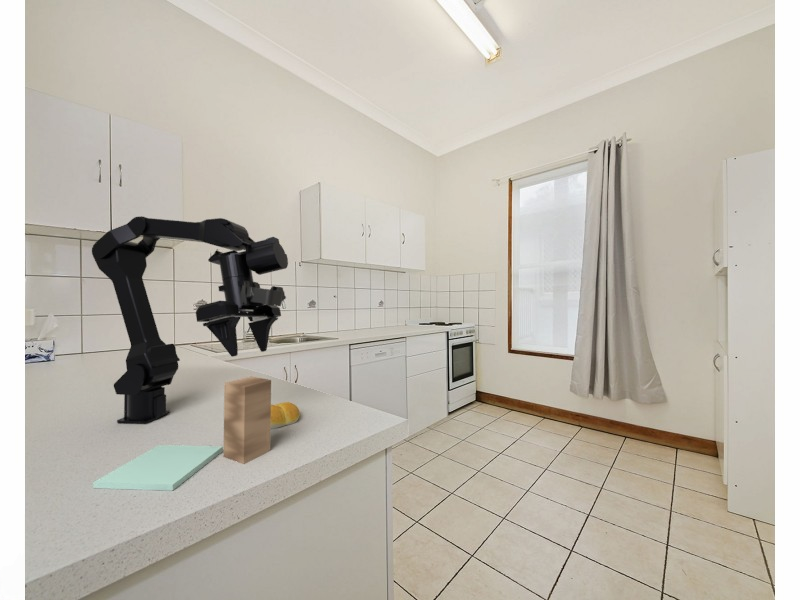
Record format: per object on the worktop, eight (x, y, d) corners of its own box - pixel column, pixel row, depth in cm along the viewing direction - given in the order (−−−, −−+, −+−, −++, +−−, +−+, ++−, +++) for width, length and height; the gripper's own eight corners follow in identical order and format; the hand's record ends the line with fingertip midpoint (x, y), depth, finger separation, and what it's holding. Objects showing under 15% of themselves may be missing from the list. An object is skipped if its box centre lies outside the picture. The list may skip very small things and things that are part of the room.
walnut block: (223, 456, 51) (224, 382, 51) (250, 444, 55) (251, 376, 55) (243, 464, 48) (244, 386, 49) (270, 450, 53) (271, 379, 53)
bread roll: (306, 421, 67) (306, 402, 67) (264, 434, 60) (264, 413, 60) (288, 411, 72) (288, 394, 72) (247, 422, 66) (248, 403, 66)
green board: (93, 488, 42) (93, 482, 42) (159, 449, 53) (159, 444, 53) (172, 490, 42) (172, 484, 42) (222, 451, 52) (222, 446, 52)
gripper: (241, 262, 55) (256, 349, 53) (295, 276, 73) (307, 342, 72) (187, 277, 56) (200, 362, 55) (253, 287, 75) (264, 352, 73)
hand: (250, 353), depth 64 cm, fingers open, 9 cm apart
